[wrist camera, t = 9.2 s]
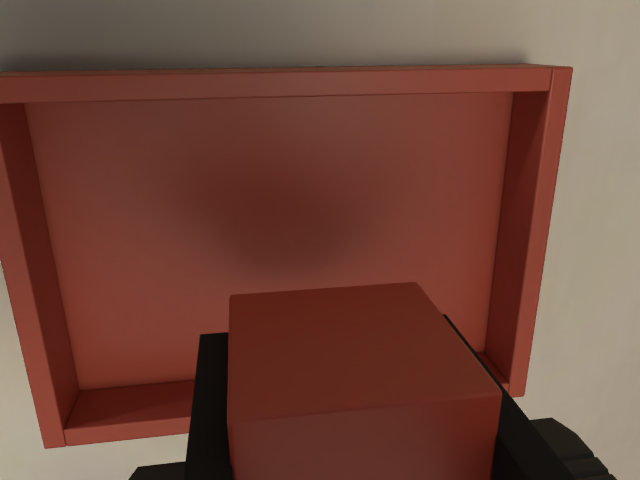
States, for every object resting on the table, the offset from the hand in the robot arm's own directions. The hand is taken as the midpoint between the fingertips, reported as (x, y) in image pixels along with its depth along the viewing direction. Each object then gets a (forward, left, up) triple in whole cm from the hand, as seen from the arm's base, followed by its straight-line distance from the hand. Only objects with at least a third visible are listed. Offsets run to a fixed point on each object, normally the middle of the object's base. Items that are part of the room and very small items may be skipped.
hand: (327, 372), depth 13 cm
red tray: (0, 0, -10) cm, 10 cm away
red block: (0, 0, 0) cm, 0 cm away
